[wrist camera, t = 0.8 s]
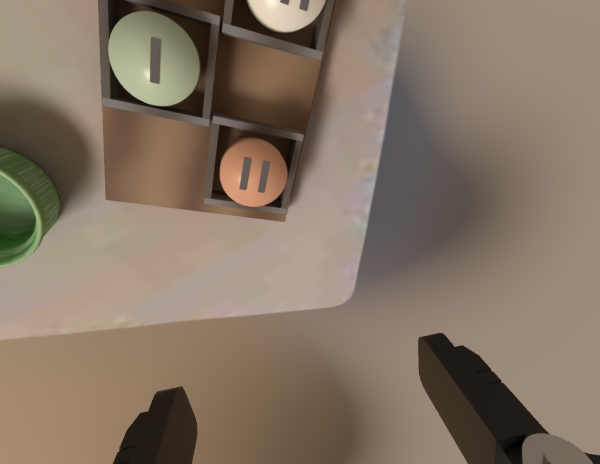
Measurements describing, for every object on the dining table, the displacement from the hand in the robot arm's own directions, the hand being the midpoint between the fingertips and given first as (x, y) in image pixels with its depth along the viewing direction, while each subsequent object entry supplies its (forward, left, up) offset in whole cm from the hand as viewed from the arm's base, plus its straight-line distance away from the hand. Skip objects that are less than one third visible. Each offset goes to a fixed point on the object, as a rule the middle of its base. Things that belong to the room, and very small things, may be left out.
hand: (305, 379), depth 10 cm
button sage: (-8, +8, -18) cm, 21 cm away
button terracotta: (-1, +2, -18) cm, 18 cm away
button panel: (-4, +8, -21) cm, 23 cm away
